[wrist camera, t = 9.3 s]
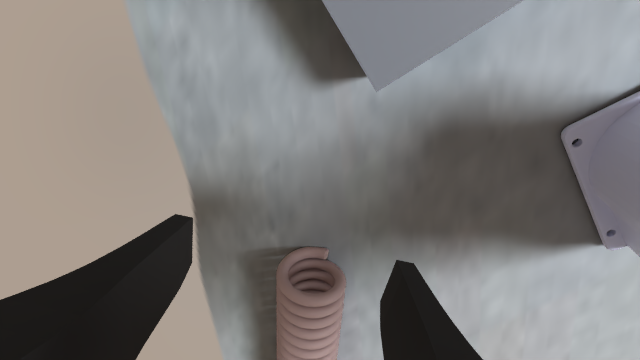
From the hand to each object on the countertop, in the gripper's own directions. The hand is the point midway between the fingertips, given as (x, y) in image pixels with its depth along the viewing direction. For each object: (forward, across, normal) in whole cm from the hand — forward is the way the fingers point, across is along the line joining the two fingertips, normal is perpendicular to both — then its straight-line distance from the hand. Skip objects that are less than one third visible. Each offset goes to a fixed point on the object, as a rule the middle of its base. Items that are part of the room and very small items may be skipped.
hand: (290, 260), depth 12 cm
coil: (+10, -2, +16) cm, 19 cm away
